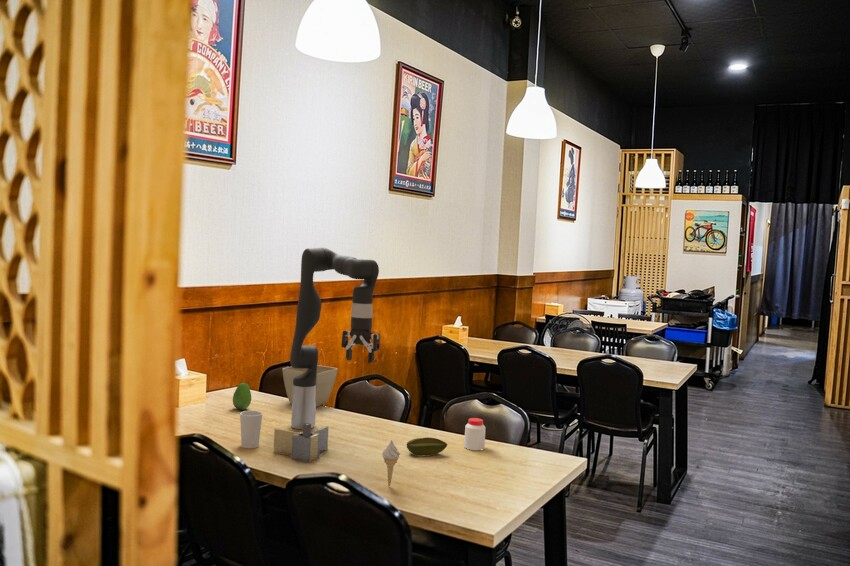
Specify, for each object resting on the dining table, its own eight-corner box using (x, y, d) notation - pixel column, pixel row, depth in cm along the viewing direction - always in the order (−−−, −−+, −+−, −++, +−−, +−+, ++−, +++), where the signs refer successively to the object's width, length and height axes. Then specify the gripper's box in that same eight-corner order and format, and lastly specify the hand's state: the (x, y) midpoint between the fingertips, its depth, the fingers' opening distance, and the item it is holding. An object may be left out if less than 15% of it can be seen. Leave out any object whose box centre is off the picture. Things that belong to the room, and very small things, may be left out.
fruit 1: (233, 407, 313) (234, 380, 312) (252, 407, 314) (253, 381, 313) (230, 411, 305) (231, 384, 304) (249, 411, 306) (250, 384, 305)
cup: (255, 449, 252) (256, 416, 251) (234, 447, 253) (236, 414, 253) (264, 443, 259) (266, 411, 259) (244, 441, 261) (246, 409, 260)
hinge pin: (304, 456, 247) (305, 422, 246) (311, 458, 246) (313, 424, 245) (299, 458, 244) (300, 424, 244) (306, 460, 243) (308, 425, 242)
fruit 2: (423, 448, 265) (424, 431, 265) (448, 455, 257) (449, 438, 257) (403, 454, 256) (403, 436, 256) (427, 462, 248) (428, 443, 248)
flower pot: (337, 403, 332) (338, 367, 331) (314, 410, 314) (316, 373, 313) (303, 397, 339) (304, 363, 338) (279, 404, 322) (281, 368, 321)
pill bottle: (487, 447, 270) (488, 419, 270) (480, 452, 263) (481, 423, 263) (468, 444, 274) (470, 416, 273) (461, 448, 267) (462, 420, 266)
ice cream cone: (380, 483, 223) (382, 436, 223) (397, 483, 224) (400, 437, 223) (380, 489, 218) (383, 441, 217) (398, 489, 218) (401, 442, 217)
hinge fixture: (296, 443, 263) (297, 420, 262) (334, 450, 256) (335, 427, 255) (268, 454, 248) (269, 430, 247) (307, 462, 240) (308, 438, 240)
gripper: (384, 317, 248) (382, 362, 249) (350, 313, 254) (347, 357, 255) (374, 318, 241) (371, 365, 242) (338, 314, 247) (336, 360, 248)
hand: (359, 361), depth 249 cm, fingers open, 8 cm apart
